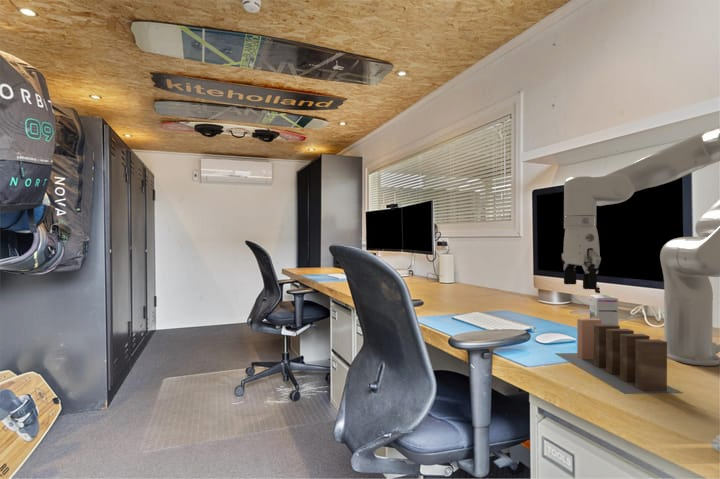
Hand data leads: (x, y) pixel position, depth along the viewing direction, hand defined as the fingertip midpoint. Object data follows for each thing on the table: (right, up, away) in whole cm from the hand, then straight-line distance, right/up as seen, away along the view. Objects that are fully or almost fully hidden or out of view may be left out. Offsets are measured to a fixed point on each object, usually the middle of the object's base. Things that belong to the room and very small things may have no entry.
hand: (579, 286), depth 101 cm
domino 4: (+1, -18, -19) cm, 27 cm away
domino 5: (+1, -18, -24) cm, 30 cm away
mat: (0, -19, -13) cm, 23 cm away
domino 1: (0, -18, -4) cm, 18 cm away
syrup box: (+12, -19, +8) cm, 24 cm away
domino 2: (0, -18, -10) cm, 21 cm away
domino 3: (+1, -18, -15) cm, 24 cm away
